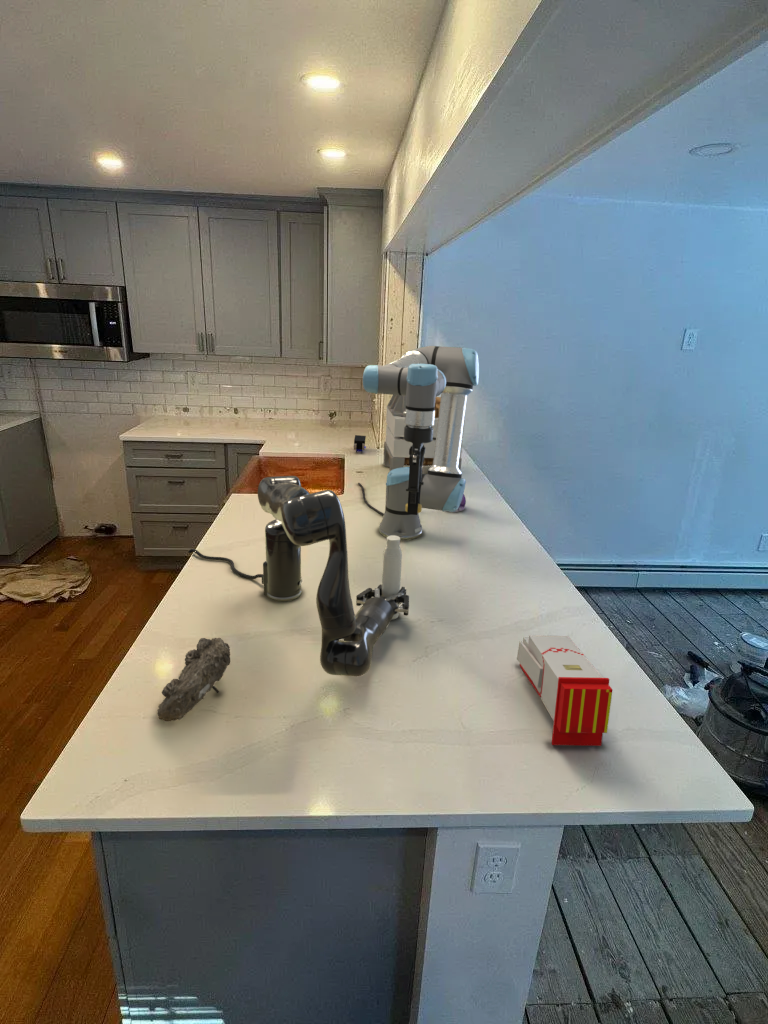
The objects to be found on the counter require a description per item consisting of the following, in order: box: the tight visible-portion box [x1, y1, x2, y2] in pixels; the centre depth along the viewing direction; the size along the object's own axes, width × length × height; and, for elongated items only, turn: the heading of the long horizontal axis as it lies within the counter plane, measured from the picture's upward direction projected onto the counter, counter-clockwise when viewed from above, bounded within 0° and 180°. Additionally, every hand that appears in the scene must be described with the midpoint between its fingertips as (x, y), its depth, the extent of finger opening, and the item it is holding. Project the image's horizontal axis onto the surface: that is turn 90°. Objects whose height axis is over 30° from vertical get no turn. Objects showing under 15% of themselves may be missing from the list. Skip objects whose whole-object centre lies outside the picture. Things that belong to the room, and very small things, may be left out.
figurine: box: [453, 493, 467, 513], centre depth 225 cm, size 9×10×15 cm
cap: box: [405, 503, 423, 514], centre depth 154 cm, size 4×4×2 cm
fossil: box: [157, 637, 231, 723], centre depth 113 cm, size 22×10×15 cm
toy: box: [516, 634, 613, 747], centre depth 116 cm, size 12×13×30 cm
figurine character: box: [353, 434, 367, 454], centre depth 311 cm, size 7×8×15 cm
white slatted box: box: [383, 395, 465, 472], centre depth 268 cm, size 34×33×41 cm
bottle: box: [381, 535, 403, 621], centre depth 143 cm, size 5×5×22 cm
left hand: (393, 588), depth 147 cm, fingers closed on bottle, 4 cm apart
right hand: (413, 510), depth 154 cm, fingers closed on cap, 4 cm apart
